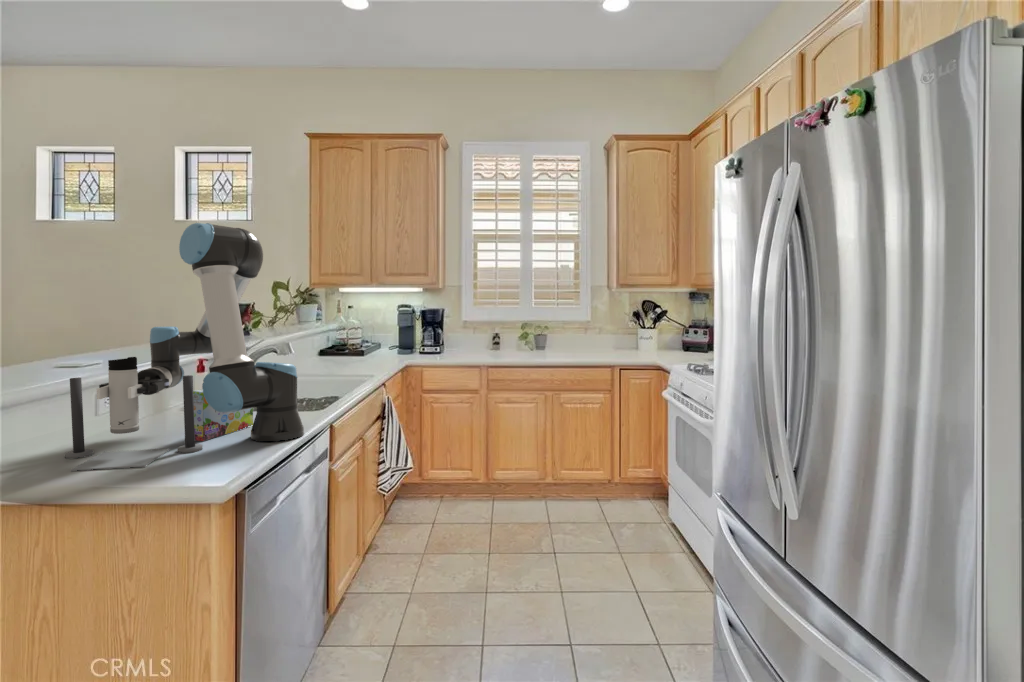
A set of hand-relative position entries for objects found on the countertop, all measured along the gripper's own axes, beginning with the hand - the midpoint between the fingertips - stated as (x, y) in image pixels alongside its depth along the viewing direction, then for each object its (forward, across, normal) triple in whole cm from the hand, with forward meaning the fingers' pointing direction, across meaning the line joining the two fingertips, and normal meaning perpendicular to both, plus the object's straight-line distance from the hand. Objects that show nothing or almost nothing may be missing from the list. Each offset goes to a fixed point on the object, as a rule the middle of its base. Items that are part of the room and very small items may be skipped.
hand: (114, 393), depth 138 cm
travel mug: (-5, 0, -11) cm, 12 cm away
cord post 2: (-9, -14, -18) cm, 25 cm away
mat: (-2, -1, -18) cm, 18 cm away
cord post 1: (-9, +13, -18) cm, 24 cm away
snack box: (-29, -17, -18) cm, 38 cm away
